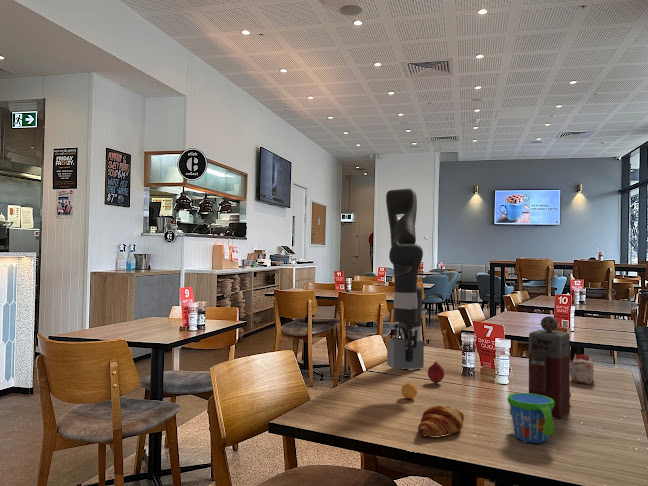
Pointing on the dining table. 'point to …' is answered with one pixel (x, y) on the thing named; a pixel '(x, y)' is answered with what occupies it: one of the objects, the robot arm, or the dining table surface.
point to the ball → (409, 390)
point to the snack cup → (531, 416)
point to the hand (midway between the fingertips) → (405, 359)
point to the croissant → (440, 421)
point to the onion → (435, 372)
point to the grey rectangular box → (404, 354)
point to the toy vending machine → (550, 365)
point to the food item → (581, 369)
